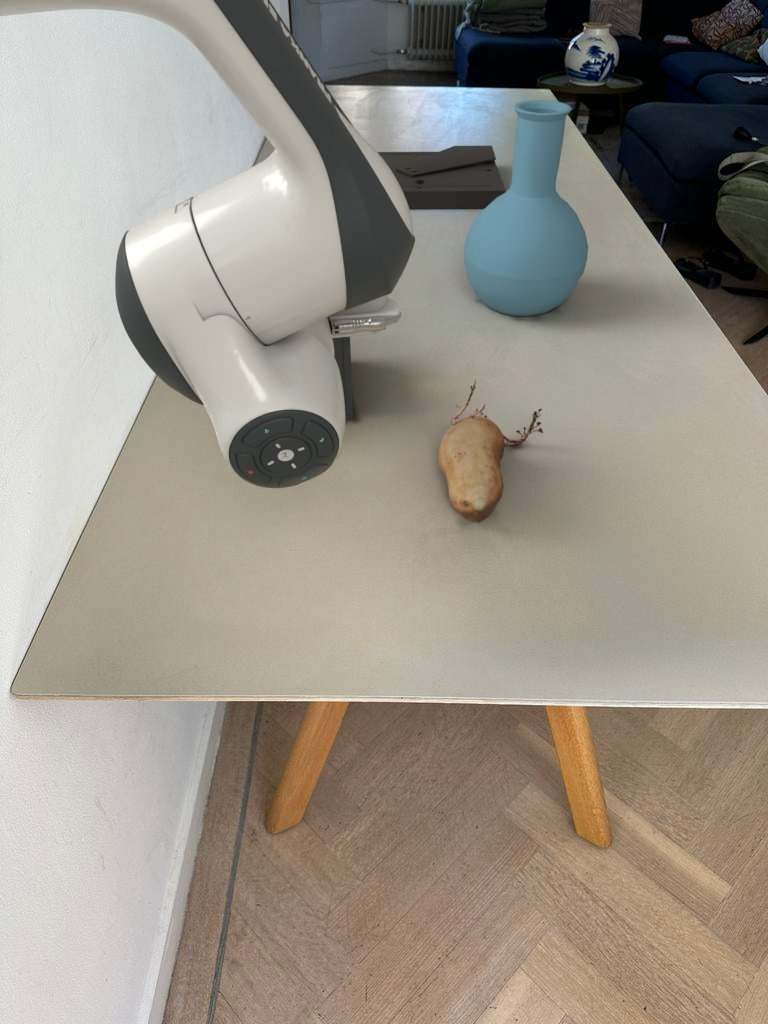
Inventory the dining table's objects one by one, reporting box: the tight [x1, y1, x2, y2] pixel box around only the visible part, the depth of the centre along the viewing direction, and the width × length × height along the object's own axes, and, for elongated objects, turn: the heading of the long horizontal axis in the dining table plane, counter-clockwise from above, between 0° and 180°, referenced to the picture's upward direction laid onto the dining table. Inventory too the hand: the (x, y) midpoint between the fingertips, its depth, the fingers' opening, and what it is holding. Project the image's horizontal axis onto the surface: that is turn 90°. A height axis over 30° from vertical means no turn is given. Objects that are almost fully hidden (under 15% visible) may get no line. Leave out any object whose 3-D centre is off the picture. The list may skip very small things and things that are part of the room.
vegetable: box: [437, 380, 544, 523], centre depth 74 cm, size 16×11×10 cm
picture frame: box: [377, 145, 507, 210], centre depth 143 cm, size 23×4×28 cm
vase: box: [463, 99, 589, 317], centre depth 100 cm, size 16×17×25 cm
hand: (266, 263), depth 69 cm, fingers closed on chocolate box, 4 cm apart
